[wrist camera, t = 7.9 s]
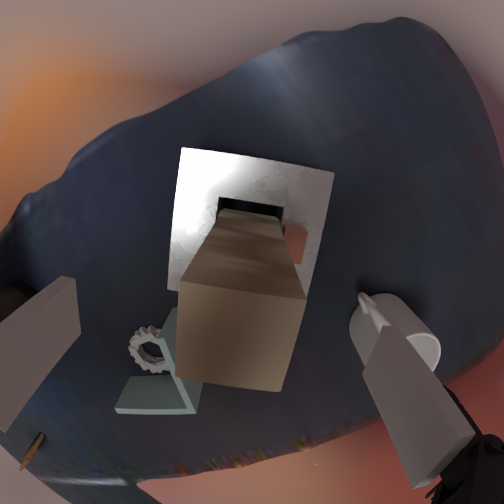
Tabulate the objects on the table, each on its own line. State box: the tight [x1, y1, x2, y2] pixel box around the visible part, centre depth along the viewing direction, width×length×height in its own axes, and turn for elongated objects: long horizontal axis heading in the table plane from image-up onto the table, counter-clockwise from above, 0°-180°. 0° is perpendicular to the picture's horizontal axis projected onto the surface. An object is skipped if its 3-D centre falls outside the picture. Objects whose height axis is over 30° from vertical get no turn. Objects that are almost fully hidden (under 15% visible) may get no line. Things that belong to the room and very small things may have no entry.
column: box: [175, 208, 307, 392], centre depth 19 cm, size 5×5×16 cm
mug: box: [349, 292, 441, 372], centre depth 32 cm, size 9×12×11 cm
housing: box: [167, 148, 335, 298], centre depth 29 cm, size 14×14×8 cm
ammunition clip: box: [20, 432, 46, 471], centre depth 44 cm, size 11×2×12 cm, turn 136°
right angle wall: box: [114, 307, 203, 414], centre depth 35 cm, size 12×12×8 cm
